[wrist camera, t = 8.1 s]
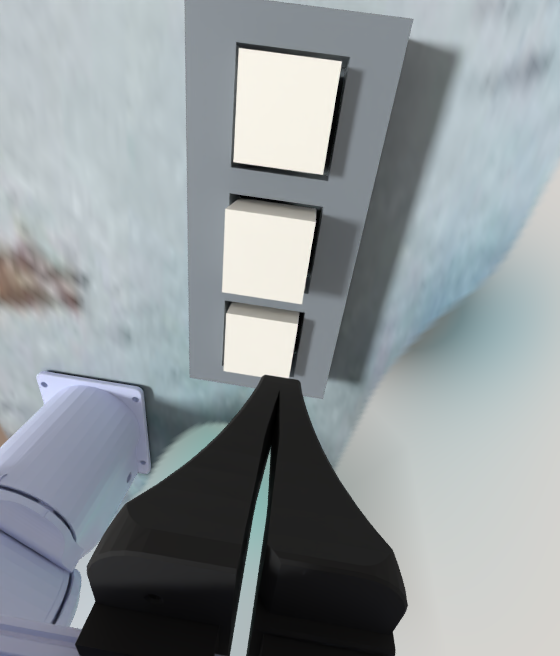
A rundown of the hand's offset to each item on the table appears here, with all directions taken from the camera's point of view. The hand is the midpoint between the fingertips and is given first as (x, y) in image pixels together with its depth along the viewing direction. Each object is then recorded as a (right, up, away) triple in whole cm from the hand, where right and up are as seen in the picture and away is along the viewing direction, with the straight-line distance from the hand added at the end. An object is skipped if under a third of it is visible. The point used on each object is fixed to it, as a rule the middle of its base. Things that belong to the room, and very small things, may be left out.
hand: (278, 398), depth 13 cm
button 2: (0, +12, +3) cm, 13 cm away
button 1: (-1, +3, +9) cm, 9 cm away
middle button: (0, +7, +5) cm, 9 cm away
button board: (0, +8, +7) cm, 10 cm away
